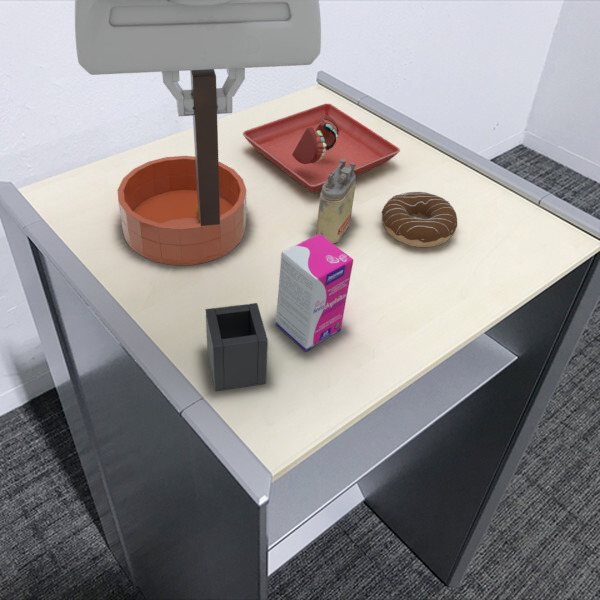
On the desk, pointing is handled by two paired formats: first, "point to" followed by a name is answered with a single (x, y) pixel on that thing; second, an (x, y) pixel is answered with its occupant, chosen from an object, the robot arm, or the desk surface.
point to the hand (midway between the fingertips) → (204, 112)
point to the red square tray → (350, 146)
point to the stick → (206, 145)
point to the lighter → (336, 202)
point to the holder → (236, 346)
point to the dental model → (316, 141)
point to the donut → (419, 232)
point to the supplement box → (312, 291)
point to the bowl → (179, 212)
